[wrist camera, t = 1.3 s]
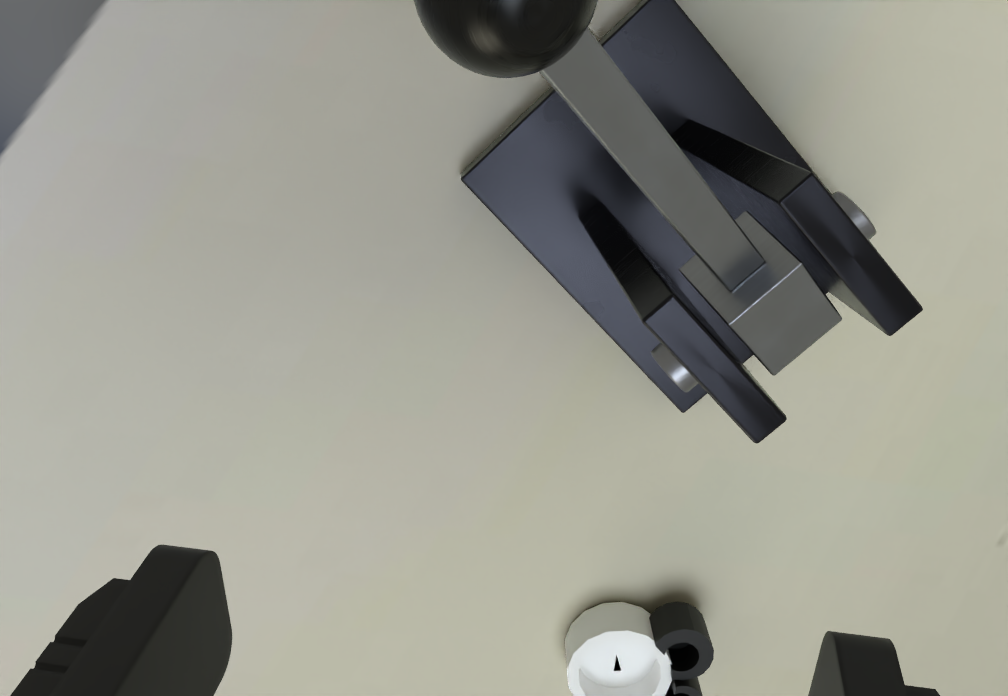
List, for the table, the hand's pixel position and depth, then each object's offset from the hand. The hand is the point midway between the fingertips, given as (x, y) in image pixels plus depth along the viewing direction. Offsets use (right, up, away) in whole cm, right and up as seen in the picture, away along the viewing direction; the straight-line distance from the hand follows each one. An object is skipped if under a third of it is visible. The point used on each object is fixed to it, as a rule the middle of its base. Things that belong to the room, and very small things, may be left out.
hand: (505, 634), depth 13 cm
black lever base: (+6, +9, +21) cm, 24 cm away
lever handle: (+2, +9, +8) cm, 12 cm away
